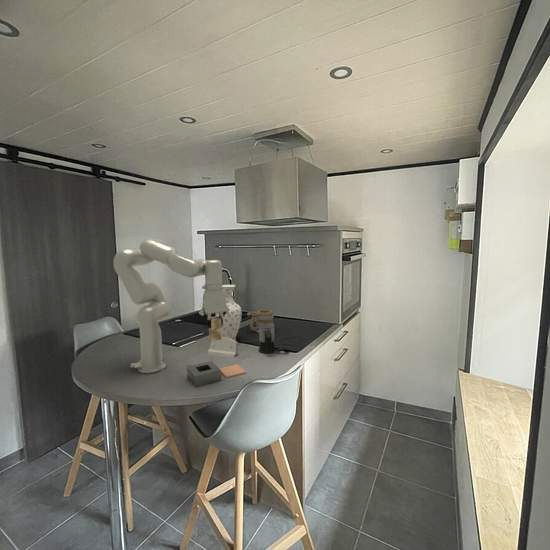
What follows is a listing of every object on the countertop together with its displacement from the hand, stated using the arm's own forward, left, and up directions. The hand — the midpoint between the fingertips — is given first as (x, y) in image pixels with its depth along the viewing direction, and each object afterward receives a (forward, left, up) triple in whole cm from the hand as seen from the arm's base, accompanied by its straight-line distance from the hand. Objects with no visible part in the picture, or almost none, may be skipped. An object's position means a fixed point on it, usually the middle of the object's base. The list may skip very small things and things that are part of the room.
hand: (215, 326), depth 138 cm
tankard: (+51, +49, -24) cm, 75 cm away
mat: (+8, 0, -24) cm, 25 cm away
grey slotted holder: (-6, 0, -24) cm, 24 cm away
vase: (+25, +43, -24) cm, 56 cm away
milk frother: (+40, +13, -24) cm, 48 cm away
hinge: (+14, +24, -24) cm, 37 cm away
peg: (0, 0, -6) cm, 6 cm away
